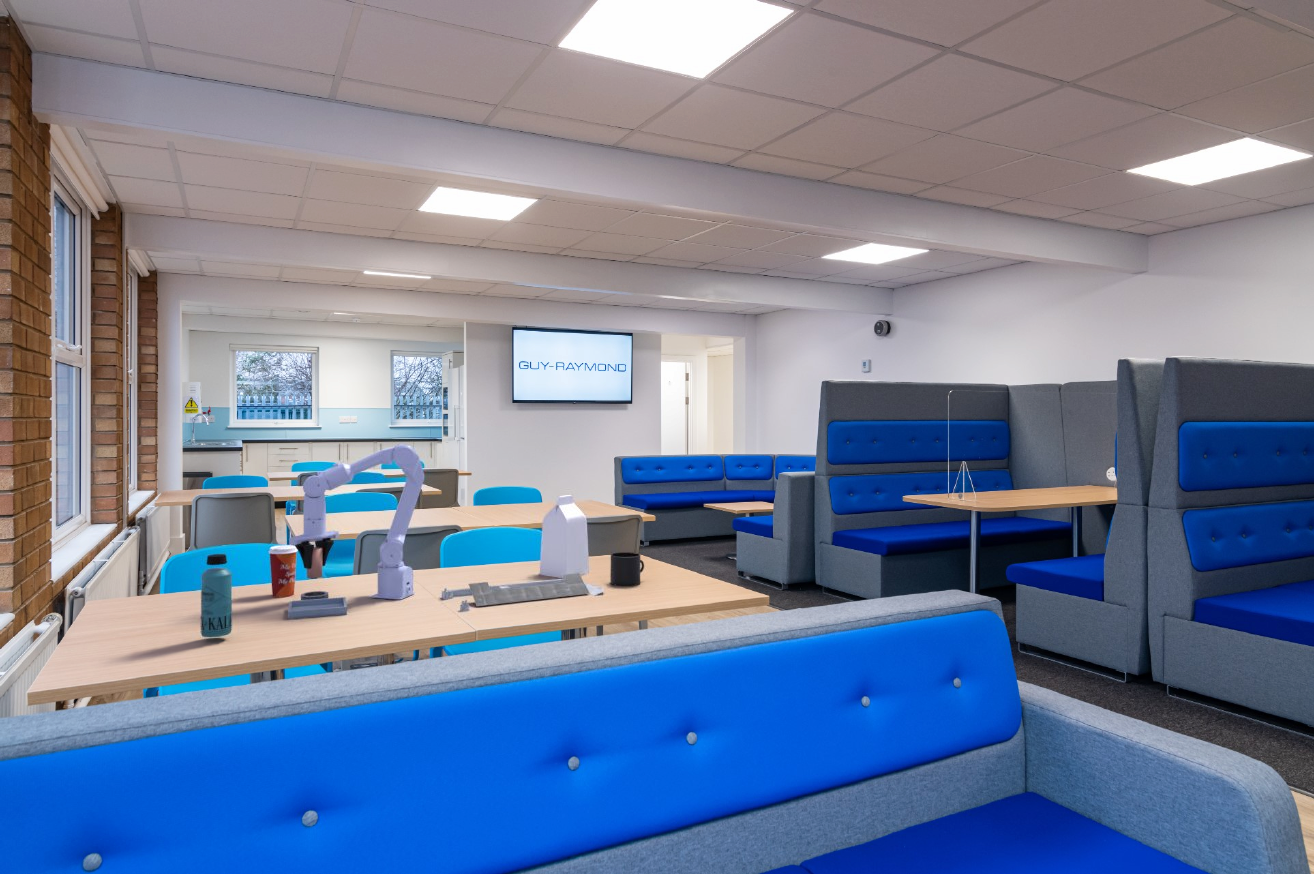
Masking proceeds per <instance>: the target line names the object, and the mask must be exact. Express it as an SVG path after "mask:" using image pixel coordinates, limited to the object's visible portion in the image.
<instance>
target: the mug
mask: <svg viewBox="0 0 1314 874" xmlns="http://www.w3.org/2000/svg"><path fill="white" fill-rule="evenodd" d="M644 569H645V563H644V561H643V560H642V559H641V554H640V553H638V552H631V551H630V552H629V551H621V552H620V551H619V552H613V553H611V554H610V571H609V572H610V576H609V577H610V578H609V579H610V583H611V585H614V586H618V587H619V586H620V587H621V586H622V587H631V586H632V587H633V586H636V585H639V584H640V583H641V573H642V572H643V571H644Z"/></svg>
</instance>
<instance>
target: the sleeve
mask: <svg viewBox="0 0 1314 874" xmlns="http://www.w3.org/2000/svg"><path fill="white" fill-rule="evenodd" d="M326 598H329V592H328V591H323V590H315V591H313V590H312V591H308V592H304V593H301V595H300V600H312V599H326Z"/></svg>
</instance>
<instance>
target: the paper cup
mask: <svg viewBox="0 0 1314 874" xmlns="http://www.w3.org/2000/svg"><path fill="white" fill-rule="evenodd" d="M297 552H299V551H298V550H297V548H296V547H295V545H290V544H286V545H285V544H283V545H274V546H271V547H270V548H269V550H268V554H269V563H270V577H271V578H270V579H271V591H272V592H271V593H272V597H274V598H287V597H292V596H293V595H294V593H295V583H296V571H297V570H296V568H297V567H296V566H297V554H298V553H297Z"/></svg>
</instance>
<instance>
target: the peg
mask: <svg viewBox="0 0 1314 874" xmlns="http://www.w3.org/2000/svg"><path fill="white" fill-rule="evenodd" d="M306 578H307V579H318V578H319V579H320V578H323V566H322V547H316V546H314V549H313V553H312V566H311V569H306Z"/></svg>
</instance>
